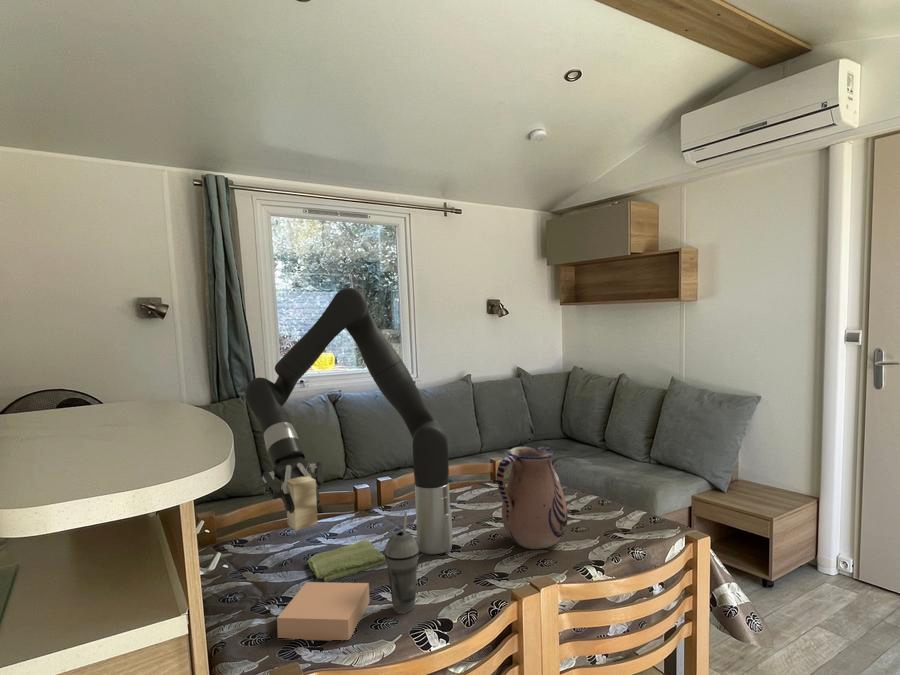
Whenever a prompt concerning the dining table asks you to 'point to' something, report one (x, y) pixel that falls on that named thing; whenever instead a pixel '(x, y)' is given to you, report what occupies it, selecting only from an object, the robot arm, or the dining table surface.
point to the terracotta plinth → (324, 611)
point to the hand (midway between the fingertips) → (305, 507)
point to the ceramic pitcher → (532, 498)
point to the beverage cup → (402, 569)
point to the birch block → (302, 503)
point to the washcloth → (346, 560)
